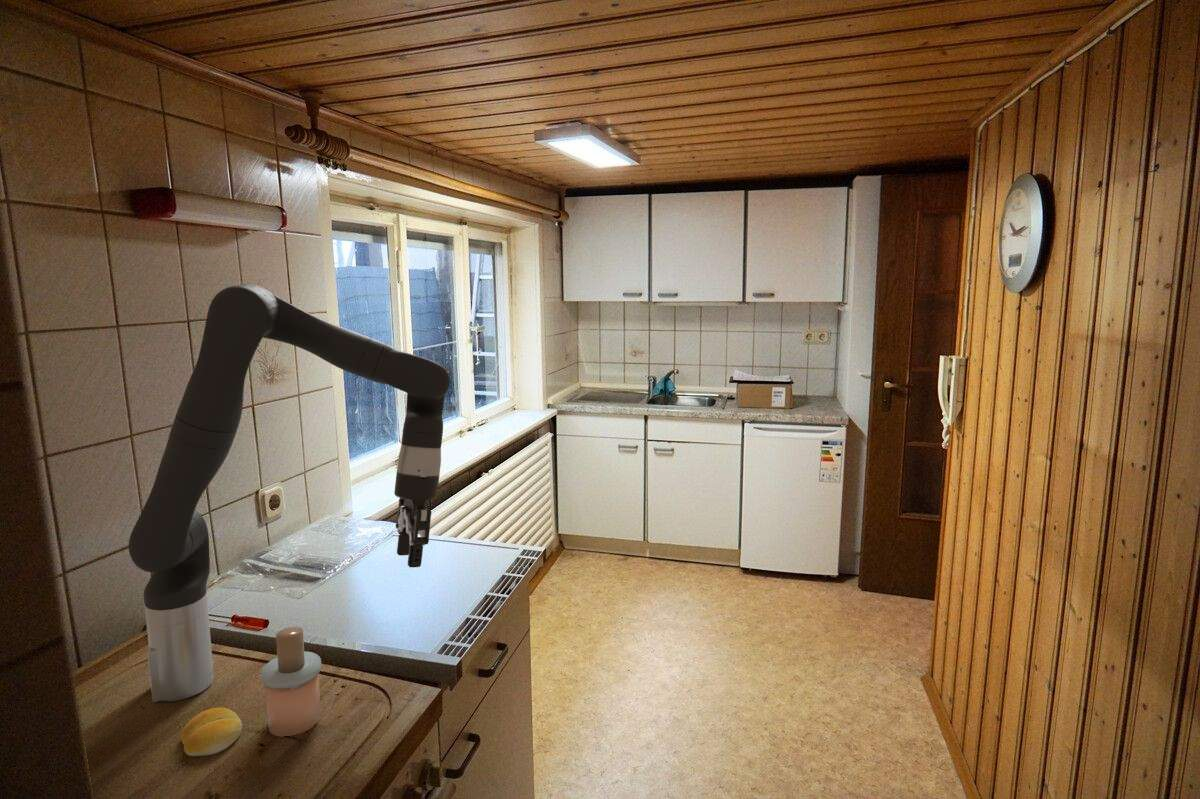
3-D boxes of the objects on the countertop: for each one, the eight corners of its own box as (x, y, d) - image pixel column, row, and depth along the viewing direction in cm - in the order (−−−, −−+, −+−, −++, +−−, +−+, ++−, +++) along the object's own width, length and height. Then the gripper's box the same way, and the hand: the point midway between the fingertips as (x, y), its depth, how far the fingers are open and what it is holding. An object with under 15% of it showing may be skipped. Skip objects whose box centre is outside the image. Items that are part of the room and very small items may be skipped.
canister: (270, 743, 102) (267, 693, 100) (266, 714, 109) (262, 667, 107) (324, 726, 106) (321, 678, 105) (316, 700, 113) (314, 654, 111)
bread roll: (188, 767, 97) (185, 743, 96) (179, 735, 103) (176, 713, 103) (248, 743, 102) (247, 720, 101) (236, 714, 109) (234, 693, 108)
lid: (264, 700, 100) (261, 654, 99) (259, 671, 107) (256, 627, 106) (325, 683, 105) (323, 638, 103) (317, 656, 112) (315, 614, 111)
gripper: (389, 465, 119) (379, 551, 119) (406, 475, 107) (395, 571, 107) (428, 467, 123) (419, 551, 123) (450, 477, 111) (439, 570, 110)
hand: (408, 560), depth 115 cm, fingers open, 8 cm apart
